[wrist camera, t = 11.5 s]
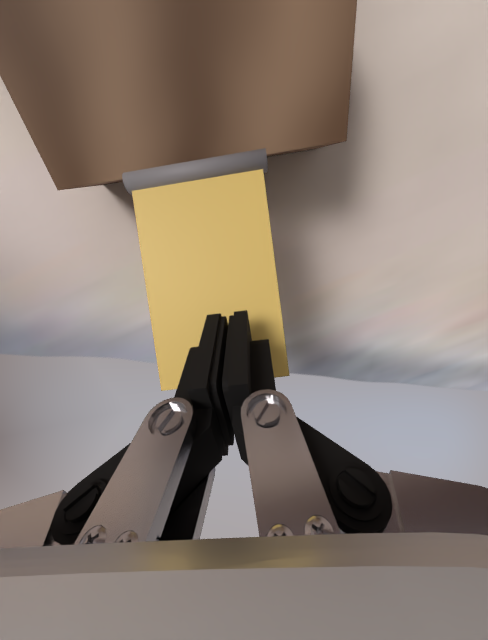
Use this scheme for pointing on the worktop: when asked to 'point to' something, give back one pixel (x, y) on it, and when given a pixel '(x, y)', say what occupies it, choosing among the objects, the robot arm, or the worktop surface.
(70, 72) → the block
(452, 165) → the worktop surface
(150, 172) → the yellow grey-edged tile
